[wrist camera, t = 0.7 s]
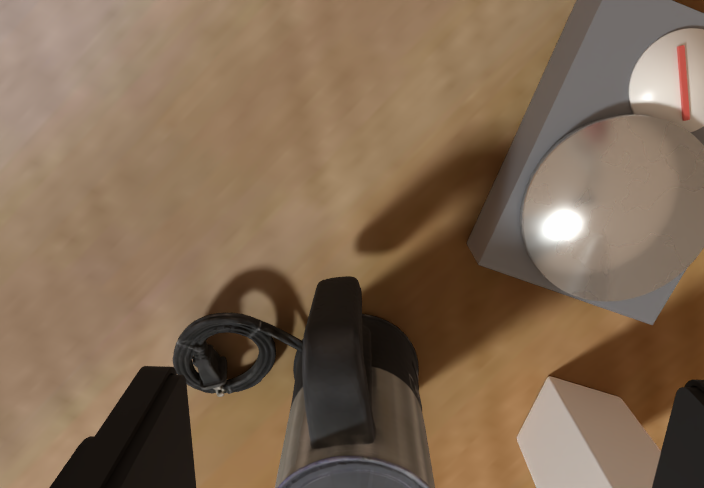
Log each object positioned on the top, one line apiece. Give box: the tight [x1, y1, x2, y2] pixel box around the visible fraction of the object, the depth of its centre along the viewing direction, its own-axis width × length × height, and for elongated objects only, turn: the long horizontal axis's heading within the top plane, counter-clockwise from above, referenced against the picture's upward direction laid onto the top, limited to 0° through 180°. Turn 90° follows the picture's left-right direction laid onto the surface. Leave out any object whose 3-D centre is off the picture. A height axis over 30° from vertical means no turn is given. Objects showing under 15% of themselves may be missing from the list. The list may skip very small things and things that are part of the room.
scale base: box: [467, 0, 704, 325], centre depth 33 cm, size 17×12×4 cm
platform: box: [520, 114, 704, 302], centre depth 32 cm, size 11×11×1 cm
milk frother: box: [173, 277, 435, 488], centre depth 34 cm, size 14×16×15 cm
